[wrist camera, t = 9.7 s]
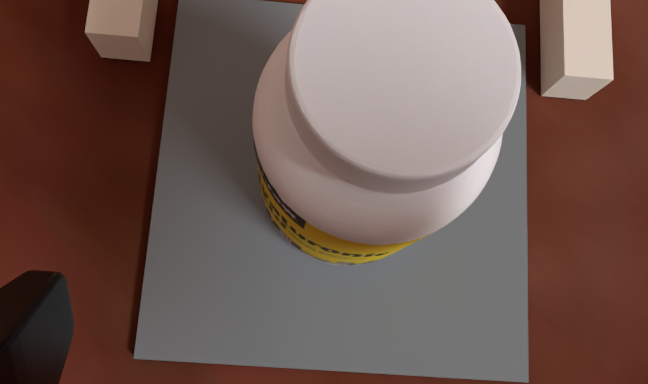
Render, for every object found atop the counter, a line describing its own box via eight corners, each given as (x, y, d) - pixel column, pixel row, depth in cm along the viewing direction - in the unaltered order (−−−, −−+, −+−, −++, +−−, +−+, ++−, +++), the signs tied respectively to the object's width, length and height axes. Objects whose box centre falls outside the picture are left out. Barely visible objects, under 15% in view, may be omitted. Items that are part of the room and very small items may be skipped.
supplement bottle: (225, 200, 19) (172, 81, 10) (327, 73, 20) (371, -144, 11) (363, 304, 19) (449, 288, 9) (459, 170, 20) (624, 33, 10)
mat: (524, 381, 19) (528, 382, 19) (135, 358, 18) (133, 358, 18) (521, 29, 22) (525, 25, 21) (180, -3, 21) (179, -8, 21)
